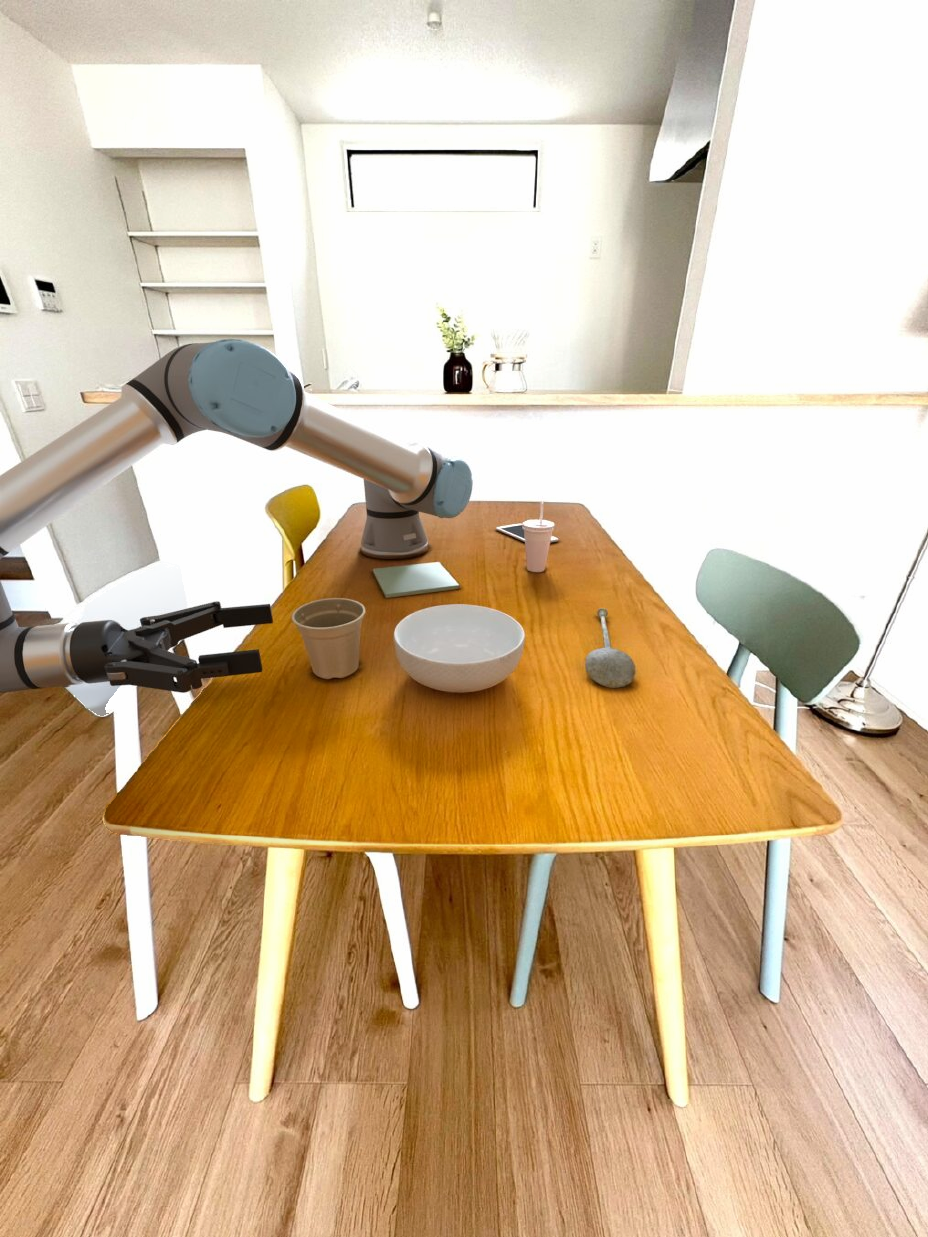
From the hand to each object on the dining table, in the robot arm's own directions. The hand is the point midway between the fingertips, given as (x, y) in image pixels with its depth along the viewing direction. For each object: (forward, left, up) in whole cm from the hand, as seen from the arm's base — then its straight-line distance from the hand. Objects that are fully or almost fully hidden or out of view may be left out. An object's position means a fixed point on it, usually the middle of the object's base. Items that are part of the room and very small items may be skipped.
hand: (266, 635), depth 68 cm
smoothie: (-39, +43, -6) cm, 59 cm away
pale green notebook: (-34, +18, -6) cm, 39 cm away
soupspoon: (-5, +47, -6) cm, 48 cm away
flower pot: (-1, +8, -6) cm, 10 cm away
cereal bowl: (+2, +25, -6) cm, 26 cm away
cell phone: (-63, +45, -6) cm, 78 cm away
